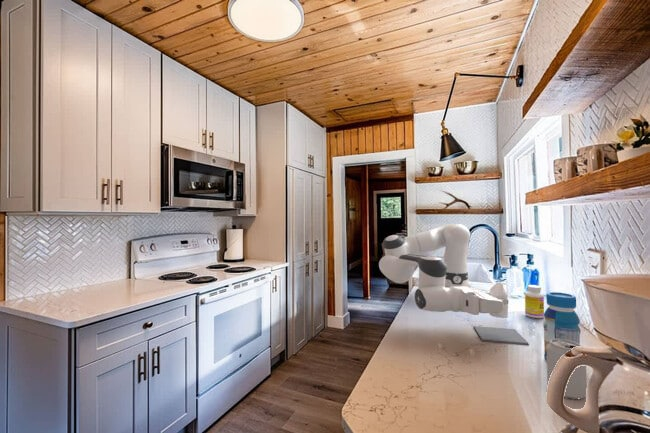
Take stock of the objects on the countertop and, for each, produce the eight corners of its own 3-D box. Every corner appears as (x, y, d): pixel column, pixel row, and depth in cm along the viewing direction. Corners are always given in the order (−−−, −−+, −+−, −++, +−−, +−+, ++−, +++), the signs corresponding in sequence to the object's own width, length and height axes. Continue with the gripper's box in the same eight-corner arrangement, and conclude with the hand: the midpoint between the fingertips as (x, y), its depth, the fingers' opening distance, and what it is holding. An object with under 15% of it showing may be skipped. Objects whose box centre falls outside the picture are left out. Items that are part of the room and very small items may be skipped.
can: (575, 405, 68) (574, 351, 68) (540, 388, 75) (539, 339, 75) (593, 396, 71) (593, 345, 71) (558, 381, 78) (558, 334, 78)
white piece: (485, 281, 109) (495, 279, 112) (486, 314, 109) (495, 312, 112) (502, 284, 104) (511, 282, 107) (502, 319, 104) (511, 316, 107)
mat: (473, 327, 116) (473, 326, 116) (514, 330, 113) (514, 329, 113) (482, 340, 104) (482, 339, 104) (528, 344, 100) (528, 343, 100)
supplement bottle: (541, 319, 124) (541, 288, 124) (523, 316, 129) (522, 286, 129) (546, 316, 129) (545, 286, 129) (527, 312, 134) (527, 283, 134)
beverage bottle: (573, 374, 81) (572, 300, 81) (538, 361, 88) (537, 293, 89) (586, 366, 86) (585, 295, 86) (551, 354, 93) (551, 289, 93)
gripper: (450, 299, 118) (485, 299, 118) (476, 316, 98) (519, 316, 98) (450, 283, 118) (485, 283, 118) (476, 297, 98) (519, 297, 98)
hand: (501, 298), depth 108 cm, fingers closed on white piece, 6 cm apart
